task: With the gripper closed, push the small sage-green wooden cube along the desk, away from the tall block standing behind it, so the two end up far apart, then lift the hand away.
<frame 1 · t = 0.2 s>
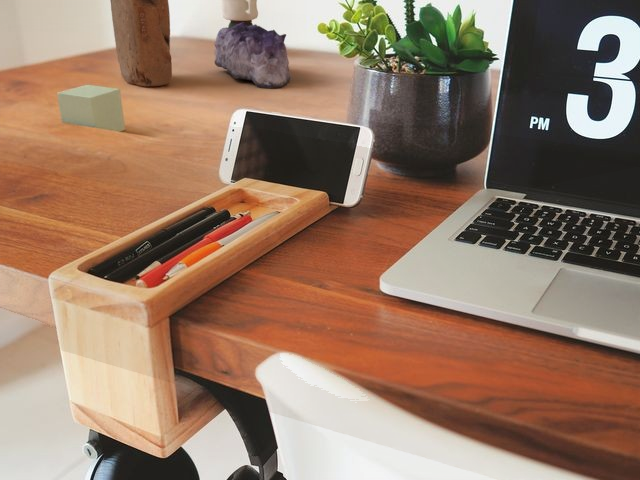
geode: (258, 77, 130), on the table
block: (148, 83, 124), on the table
character mug: (242, 53, 150), on the table
cube: (95, 132, 96), on the table
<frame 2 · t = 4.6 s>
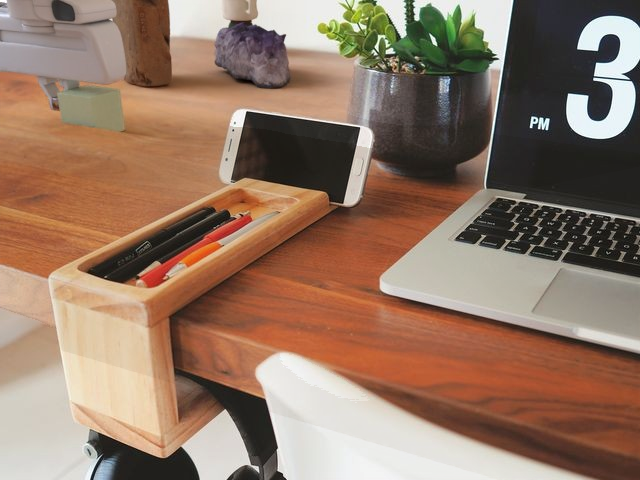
hand: (63, 110, 97), 2 cm above the table, tool pointing down, fingers closed
cube: (95, 132, 96), on the table, touching gripper
everything else where it was.
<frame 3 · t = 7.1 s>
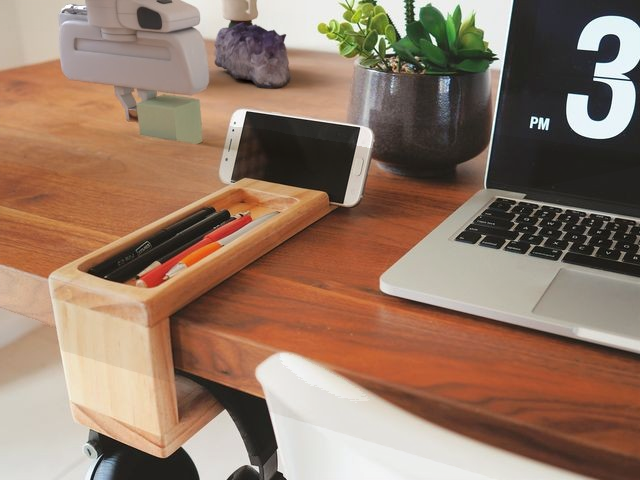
hand: (139, 121, 93), 2 cm above the table, tool pointing down, fingers closed
cube: (172, 144, 92), on the table, touching gripper
everything else where it was.
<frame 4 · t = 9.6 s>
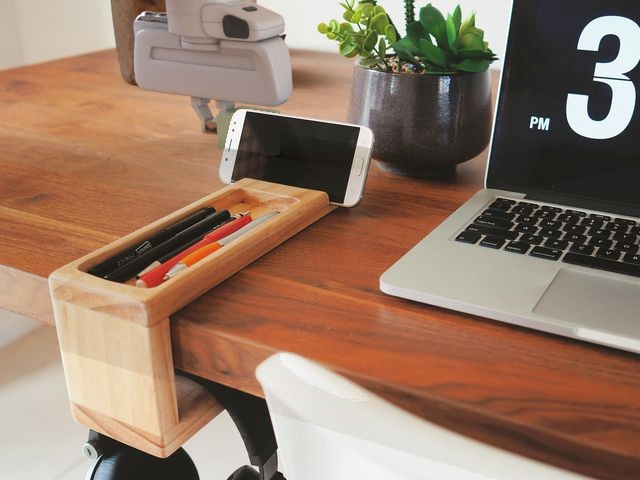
hand: (215, 133, 89), 2 cm above the table, tool pointing down, fingers closed
cube: (250, 157, 88), on the table, touching gripper
everything else where it was.
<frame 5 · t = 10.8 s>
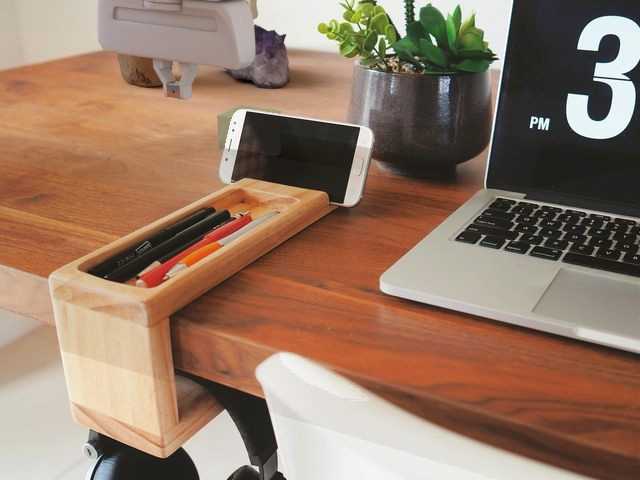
hand: (178, 97, 88), 6 cm above the table, tool pointing down, fingers closed
cube: (251, 157, 88), on the table
everything else where it was.
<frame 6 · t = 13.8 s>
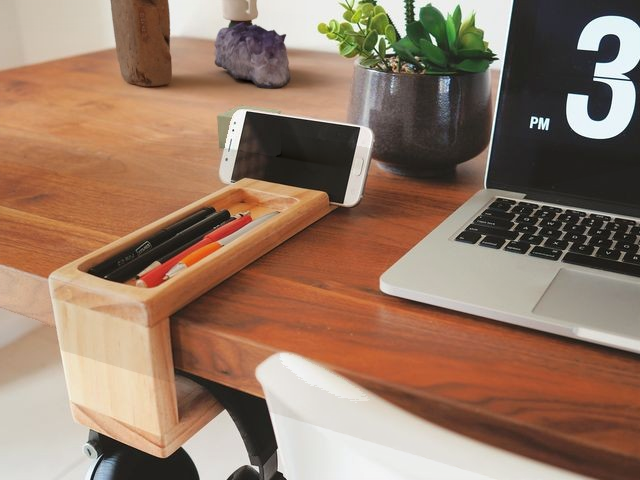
nothing on the table moved.
at the end: cube inside the target area (2.9 cm from its centre), on the table; cube touching table; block moved 0.2 cm from its start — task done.
